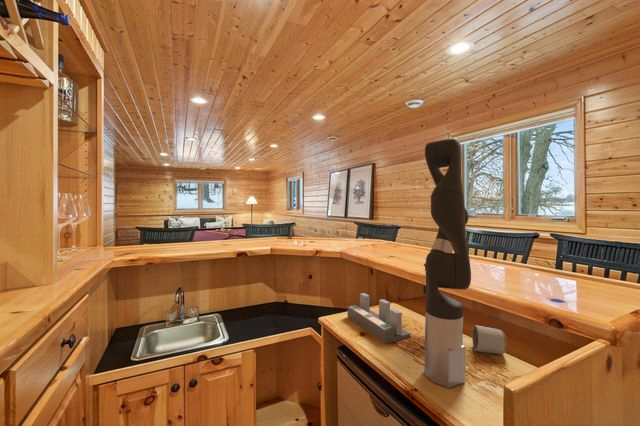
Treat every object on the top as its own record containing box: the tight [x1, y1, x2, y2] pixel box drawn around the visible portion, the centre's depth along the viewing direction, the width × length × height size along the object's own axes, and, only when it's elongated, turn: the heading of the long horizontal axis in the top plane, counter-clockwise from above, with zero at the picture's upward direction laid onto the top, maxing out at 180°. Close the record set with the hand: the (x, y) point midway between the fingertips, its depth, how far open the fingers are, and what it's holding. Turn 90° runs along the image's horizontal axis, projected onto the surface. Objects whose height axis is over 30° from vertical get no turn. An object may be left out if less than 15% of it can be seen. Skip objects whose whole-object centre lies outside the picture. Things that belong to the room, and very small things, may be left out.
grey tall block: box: [389, 308, 403, 335], centre depth 101 cm, size 4×2×8 cm, turn 25°
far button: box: [359, 292, 371, 313], centre depth 118 cm, size 4×2×8 cm, turn 25°
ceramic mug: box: [471, 324, 507, 355], centre depth 93 cm, size 11×8×8 cm
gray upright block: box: [378, 299, 391, 323], centre depth 111 cm, size 4×2×8 cm, turn 25°
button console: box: [347, 304, 412, 344], centre depth 109 cm, size 24×11×5 cm, turn 25°
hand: (426, 294), depth 108 cm, fingers closed
